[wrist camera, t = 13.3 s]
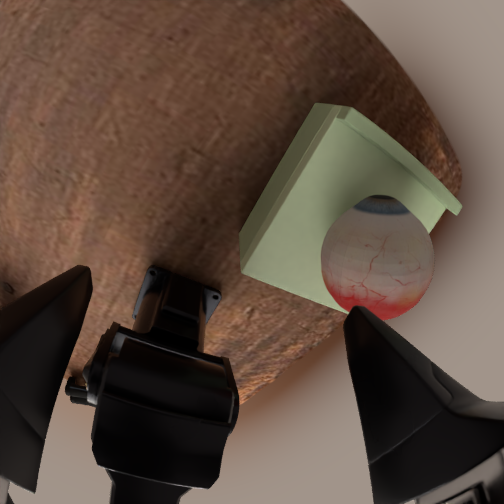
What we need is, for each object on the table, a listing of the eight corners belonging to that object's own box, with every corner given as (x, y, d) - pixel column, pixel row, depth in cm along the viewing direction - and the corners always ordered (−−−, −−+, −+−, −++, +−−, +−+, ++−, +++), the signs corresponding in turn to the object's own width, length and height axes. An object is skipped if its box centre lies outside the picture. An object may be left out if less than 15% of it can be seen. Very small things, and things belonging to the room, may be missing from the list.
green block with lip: (341, 279, 24) (366, 330, 19) (238, 234, 21) (241, 285, 16) (414, 175, 19) (463, 206, 14) (315, 102, 16) (352, 106, 11)
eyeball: (465, 210, 9) (328, 206, 10) (438, 339, 11) (321, 347, 12) (413, 189, 15) (316, 187, 16) (403, 286, 17) (315, 288, 18)
